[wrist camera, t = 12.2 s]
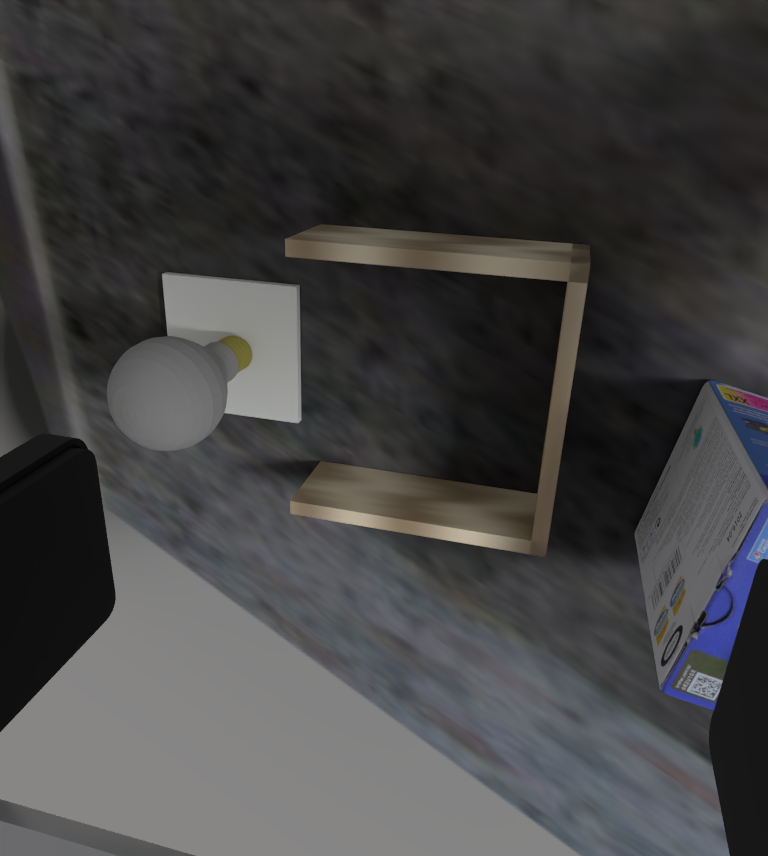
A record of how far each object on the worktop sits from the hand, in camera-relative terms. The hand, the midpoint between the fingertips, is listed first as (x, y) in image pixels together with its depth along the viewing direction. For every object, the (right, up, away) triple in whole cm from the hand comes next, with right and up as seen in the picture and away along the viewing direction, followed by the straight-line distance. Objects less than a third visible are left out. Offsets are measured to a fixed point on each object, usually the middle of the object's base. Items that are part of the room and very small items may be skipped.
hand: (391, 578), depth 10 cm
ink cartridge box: (+17, 0, +27) cm, 32 cm away
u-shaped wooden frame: (+3, +5, +29) cm, 29 cm away
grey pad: (-9, +7, +31) cm, 33 cm away
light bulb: (-8, +7, +31) cm, 33 cm away
